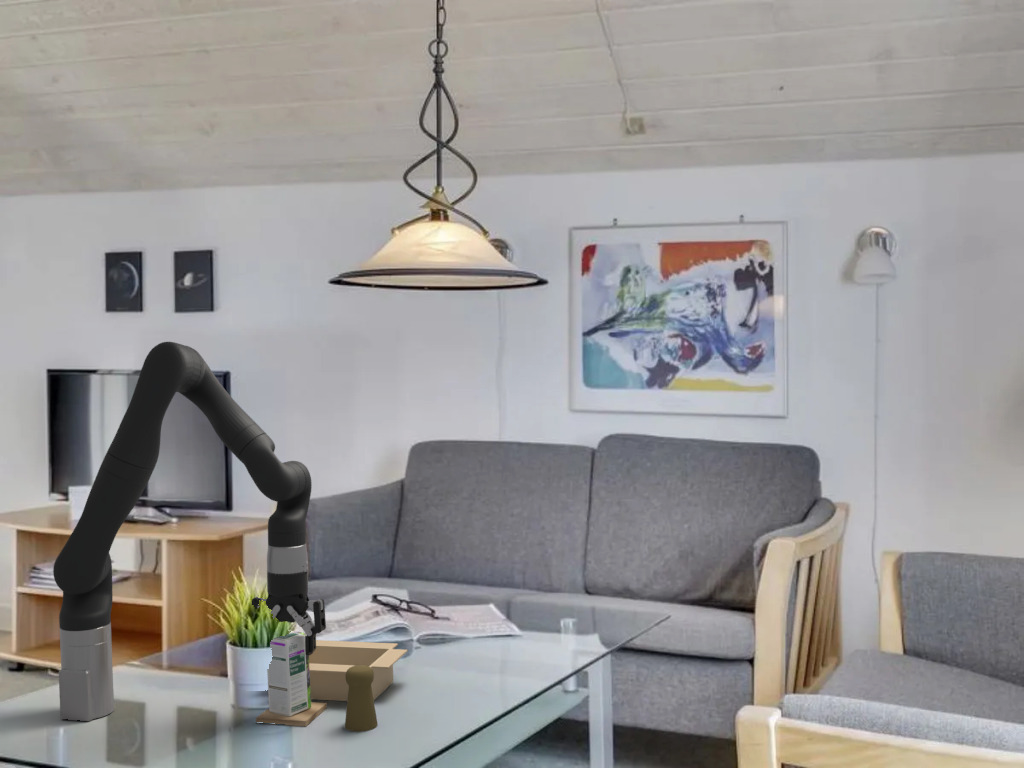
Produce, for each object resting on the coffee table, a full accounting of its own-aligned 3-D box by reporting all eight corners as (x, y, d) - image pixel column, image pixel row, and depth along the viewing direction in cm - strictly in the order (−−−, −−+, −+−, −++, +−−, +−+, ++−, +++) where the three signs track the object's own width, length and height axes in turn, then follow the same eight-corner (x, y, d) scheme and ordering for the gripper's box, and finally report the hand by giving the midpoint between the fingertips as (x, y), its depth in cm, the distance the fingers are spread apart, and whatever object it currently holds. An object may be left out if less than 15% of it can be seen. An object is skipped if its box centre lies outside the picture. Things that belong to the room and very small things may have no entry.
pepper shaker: (347, 720, 205) (346, 662, 205) (379, 719, 205) (378, 661, 204) (341, 731, 199) (339, 672, 199) (374, 731, 199) (373, 671, 198)
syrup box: (290, 717, 204) (287, 640, 204) (267, 712, 208) (265, 636, 207) (311, 708, 209) (309, 633, 208) (289, 703, 212) (287, 629, 212)
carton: (414, 677, 230) (413, 644, 230) (382, 709, 211) (381, 673, 210) (299, 671, 236) (298, 639, 236) (257, 702, 216) (256, 667, 216)
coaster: (306, 726, 202) (305, 721, 202) (255, 723, 204) (255, 718, 204) (326, 708, 212) (326, 702, 212) (278, 705, 214) (278, 700, 214)
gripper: (243, 570, 205) (244, 656, 205) (314, 573, 202) (315, 661, 202) (261, 562, 212) (262, 645, 213) (330, 565, 209) (331, 649, 209)
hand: (288, 652), depth 207 cm, fingers open, 8 cm apart
